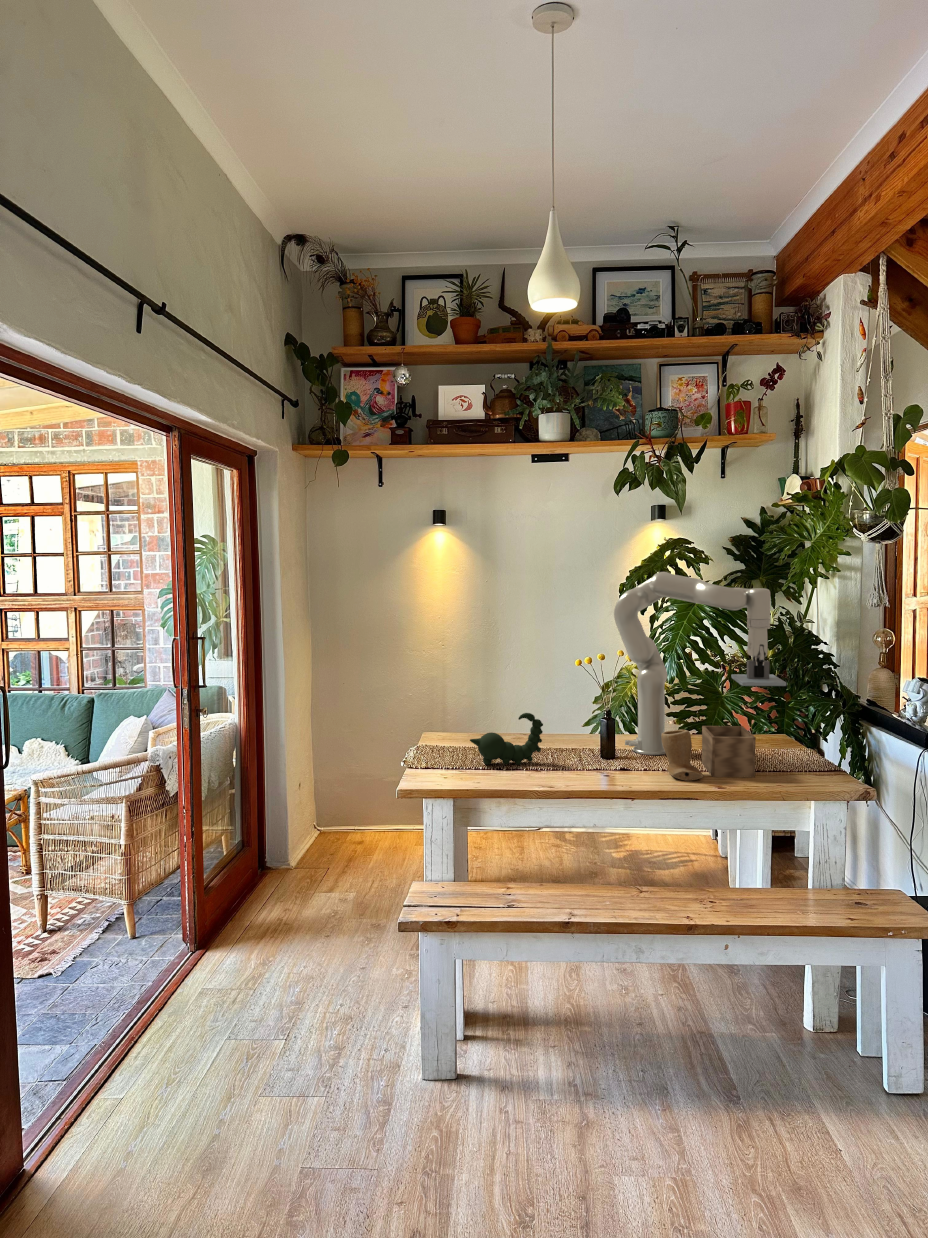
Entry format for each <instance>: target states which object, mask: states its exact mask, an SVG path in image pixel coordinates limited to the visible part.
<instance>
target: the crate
mask: <svg viewBox="0 0 928 1238" xmlns="http://www.w3.org/2000/svg"><path fill="white" fill-rule="evenodd" d="M701 729H702V730H701V764H702V765H703V766H704V767H703V768H705V769H706V770H707V772H708V774H709V775H710V776H711V777H714V778H719V777H720V778H755V777H756V741H757V740H756V739H757V737H756V736H754V735H753V734H752V733H751V732H750V731H749V730H748V729H746V727H744V726H743V725H737V726H736V725H702V726H701Z"/></svg>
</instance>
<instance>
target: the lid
mask: <svg viewBox="0 0 928 1238" xmlns="http://www.w3.org/2000/svg"><path fill="white" fill-rule="evenodd" d="M770 663H771V662H770V661H769V660H764V677H754V666H755V661H752V660H746V673H744V674H743V673H741V674H740V673H739V674H738V673H737V674H735V673H734V674H733V673H732V674H731V677H730V678H731V679H732V680H734V682H736V683H738V684H739V685H740V686H741V687H744V686H745V687H787V682H786V681H784V680H783V679H781V678H779V677H778V676H776V675H774V674H773V673H772V674H770Z"/></svg>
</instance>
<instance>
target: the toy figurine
mask: <svg viewBox="0 0 928 1238" xmlns="http://www.w3.org/2000/svg"><path fill="white" fill-rule="evenodd" d="M522 719H526V720H527V721H529V722H530V723H531V727H530V733H529V735H528V736H527V741H525V743H524V744H522V745H520V744H514V743H512V742H510V741H505V739H504V738H503V736H502V735H500V734H499V733H496V732H493V731H492V732H487V733H484V734H483V735H482V736H481V737H479V738H470V739H469V741H470V742H471V743H472V744H474V745H475V746H476V747H477V749H478V750H477V751H478V752H479V754H480V756H481V757H482V762H483V764H484V765H487V766H490V765H492V763H493V761H495V760H501V761H502V763H503V764H504V765H509V763H510V761H511V762H513V763H515V764H516V765H517V766H520V765H522V762H523V761H524V760H526V761H527V762H529V763H531V762H533V760H534V758H533V753H535V752H536V753H540V752H541V751H542V749H541V747H540V746H539V743H542V742H543V740H542V738H541V735H542V734H543V730H542V727H543V726H544V723H543V721H542V720H540V719H539V718H536V716H535V714H533V713H530V712H524V713H522V714H520V715H519V716H518V720H519V721H520V720H522Z"/></svg>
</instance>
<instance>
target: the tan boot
mask: <svg viewBox="0 0 928 1238" xmlns="http://www.w3.org/2000/svg"><path fill="white" fill-rule="evenodd" d="M691 737H692V736H691V733H690V731H689V730H687V729H675V730H668V731H667V730H666V731H665V732H663V733H662V735H661V738H662V745H663V748H664V750H665V753H666V754H665V755H666V757H667V759H668V766H667V767H666V771H667V772H668V773H669V775H671V776H672V777H673V778H675V779H679V780H681V781H686V782H689V781H697V780H698V779H702V778H703V777H704V775H703V774H702V772H701V771H700V770H699V769H698V767H696V766H695V765H694V764H692V763H691V756H692V755H691V754H692V748H693V745H692V744H693V742H692V738H691Z"/></svg>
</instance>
